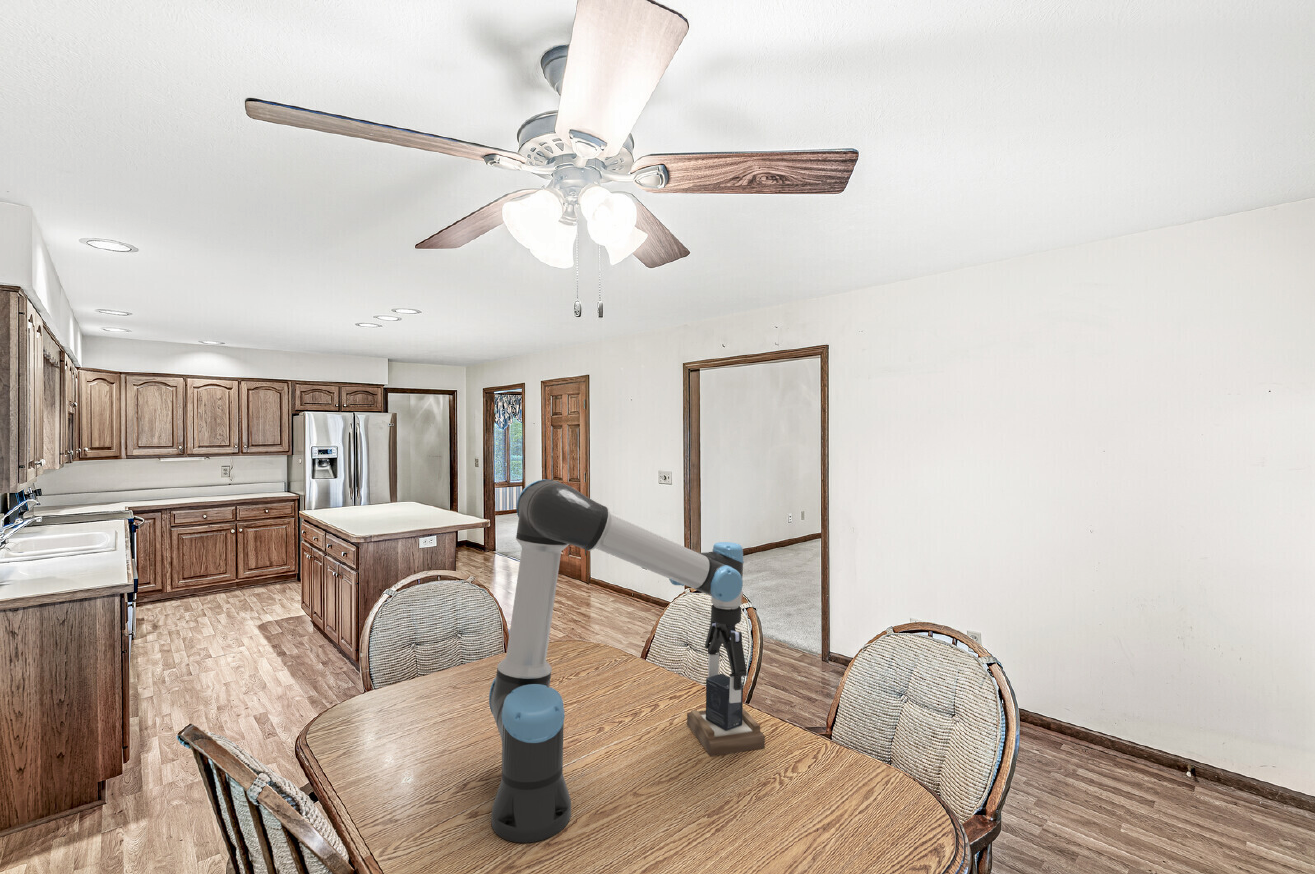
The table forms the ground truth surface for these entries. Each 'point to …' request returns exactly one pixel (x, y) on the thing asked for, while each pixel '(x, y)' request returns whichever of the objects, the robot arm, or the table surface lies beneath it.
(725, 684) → the box
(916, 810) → the table surface
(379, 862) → the table surface
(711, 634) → the robot arm
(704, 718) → the stand
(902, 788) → the table surface
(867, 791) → the table surface
